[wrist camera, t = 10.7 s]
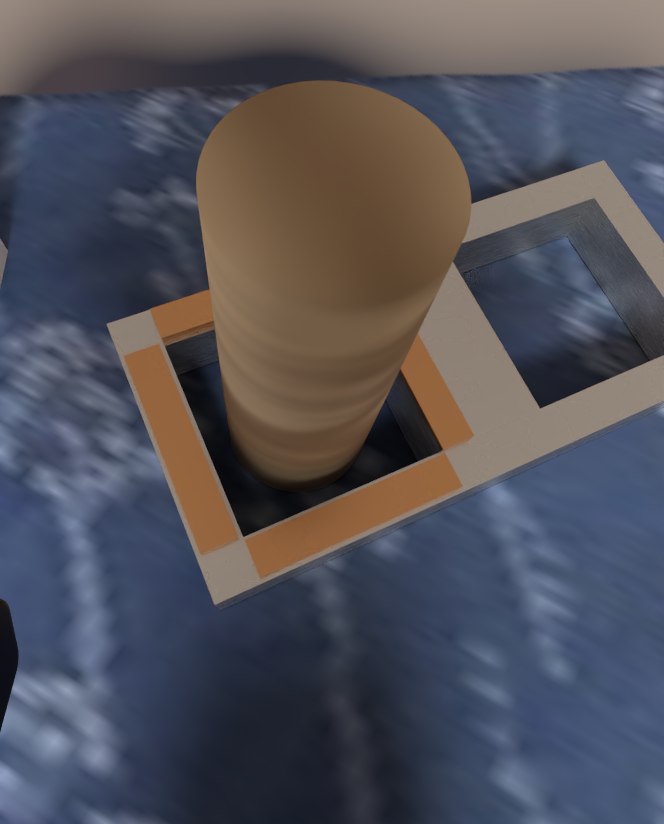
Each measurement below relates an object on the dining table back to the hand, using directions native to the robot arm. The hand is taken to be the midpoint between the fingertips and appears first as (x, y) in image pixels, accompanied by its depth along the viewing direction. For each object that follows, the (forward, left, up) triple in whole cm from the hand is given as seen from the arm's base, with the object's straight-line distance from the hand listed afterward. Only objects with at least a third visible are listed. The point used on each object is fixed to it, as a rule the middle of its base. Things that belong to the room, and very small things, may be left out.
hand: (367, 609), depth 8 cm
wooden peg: (+3, +7, -14) cm, 15 cm away
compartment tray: (+8, +7, -14) cm, 17 cm away
